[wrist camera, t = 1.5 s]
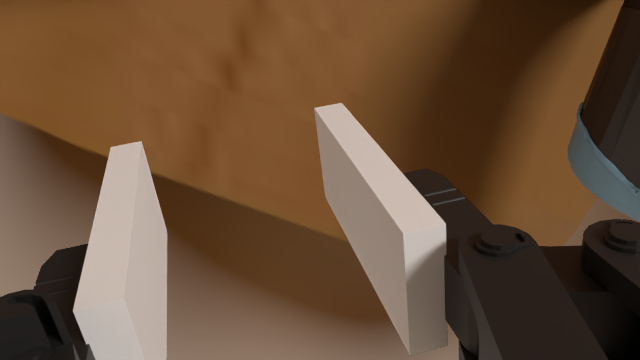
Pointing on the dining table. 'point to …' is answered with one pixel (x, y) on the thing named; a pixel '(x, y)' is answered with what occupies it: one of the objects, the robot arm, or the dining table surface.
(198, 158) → the dining table surface
